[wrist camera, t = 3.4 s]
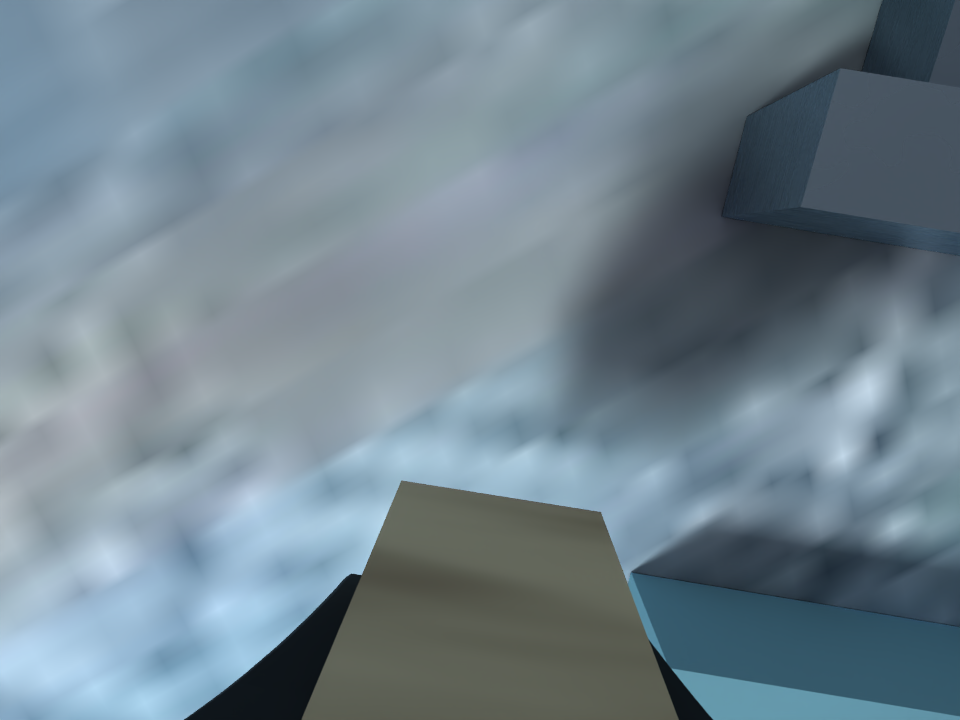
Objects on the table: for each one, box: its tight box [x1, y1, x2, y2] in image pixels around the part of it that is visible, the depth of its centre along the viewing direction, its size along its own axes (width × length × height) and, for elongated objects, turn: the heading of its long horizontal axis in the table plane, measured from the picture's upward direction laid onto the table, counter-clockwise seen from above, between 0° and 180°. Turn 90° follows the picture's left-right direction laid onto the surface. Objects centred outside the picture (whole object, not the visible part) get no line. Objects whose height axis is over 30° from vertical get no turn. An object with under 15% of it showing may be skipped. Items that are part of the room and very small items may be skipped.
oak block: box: [302, 481, 679, 720], centre depth 9 cm, size 4×4×6 cm
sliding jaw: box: [628, 573, 960, 720], centre depth 18 cm, size 4×18×4 cm, turn 81°
